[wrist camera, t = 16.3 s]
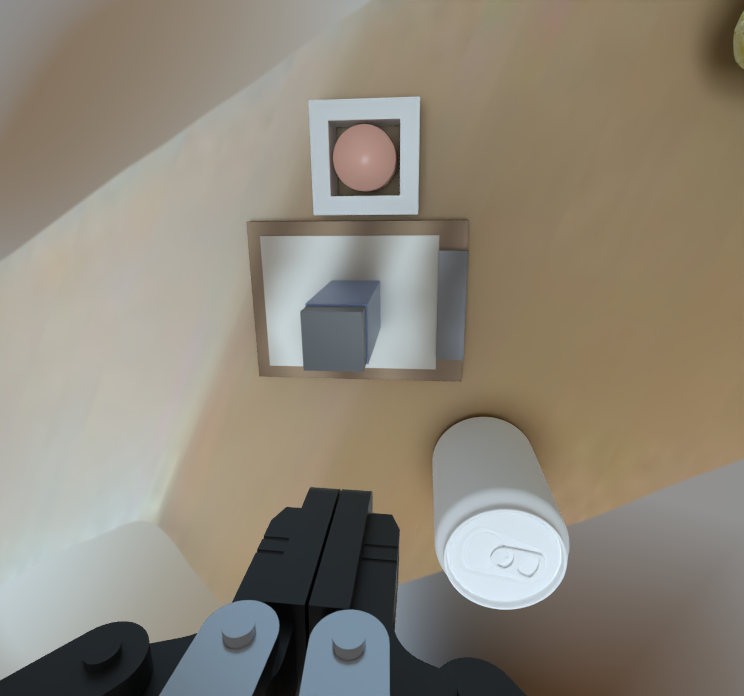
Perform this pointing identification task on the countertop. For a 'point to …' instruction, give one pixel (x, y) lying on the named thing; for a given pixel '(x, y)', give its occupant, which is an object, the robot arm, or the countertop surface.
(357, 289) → the blue grey block
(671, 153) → the countertop surface
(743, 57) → the lettuce
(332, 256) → the clipboard
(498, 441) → the beverage can
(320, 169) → the button housing
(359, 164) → the button
